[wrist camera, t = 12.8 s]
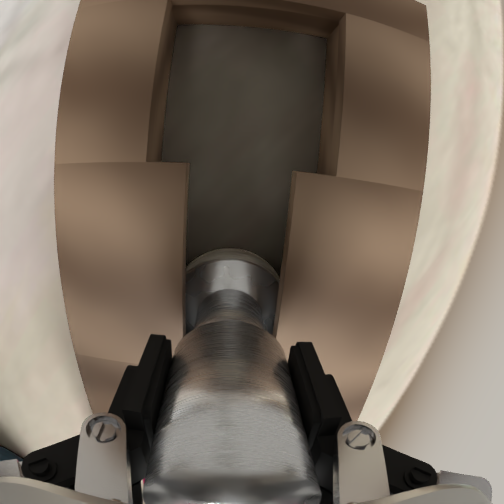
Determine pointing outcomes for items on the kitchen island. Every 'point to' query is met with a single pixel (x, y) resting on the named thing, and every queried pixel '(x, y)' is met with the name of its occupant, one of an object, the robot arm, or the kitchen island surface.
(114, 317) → the keyhole board
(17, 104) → the kitchen island surface
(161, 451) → the steel peg
